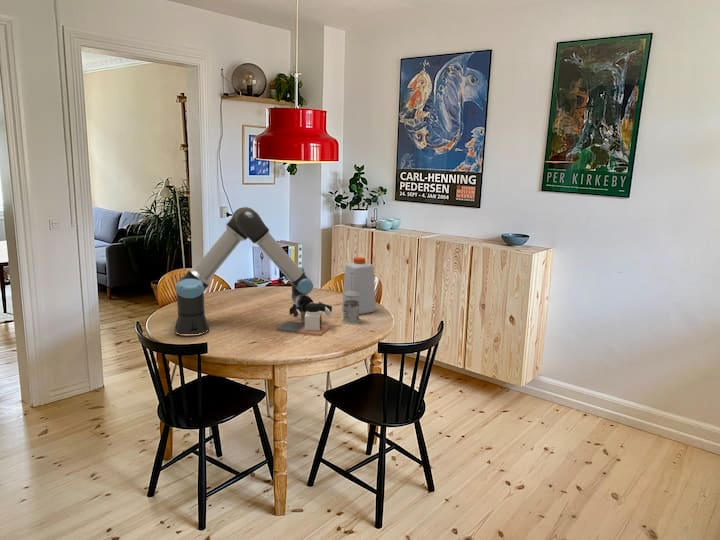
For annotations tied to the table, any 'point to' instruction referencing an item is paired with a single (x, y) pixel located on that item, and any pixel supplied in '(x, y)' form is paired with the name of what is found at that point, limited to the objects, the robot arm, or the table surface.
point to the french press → (351, 307)
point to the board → (301, 328)
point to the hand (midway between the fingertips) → (314, 315)
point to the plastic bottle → (360, 284)
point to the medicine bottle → (313, 317)
